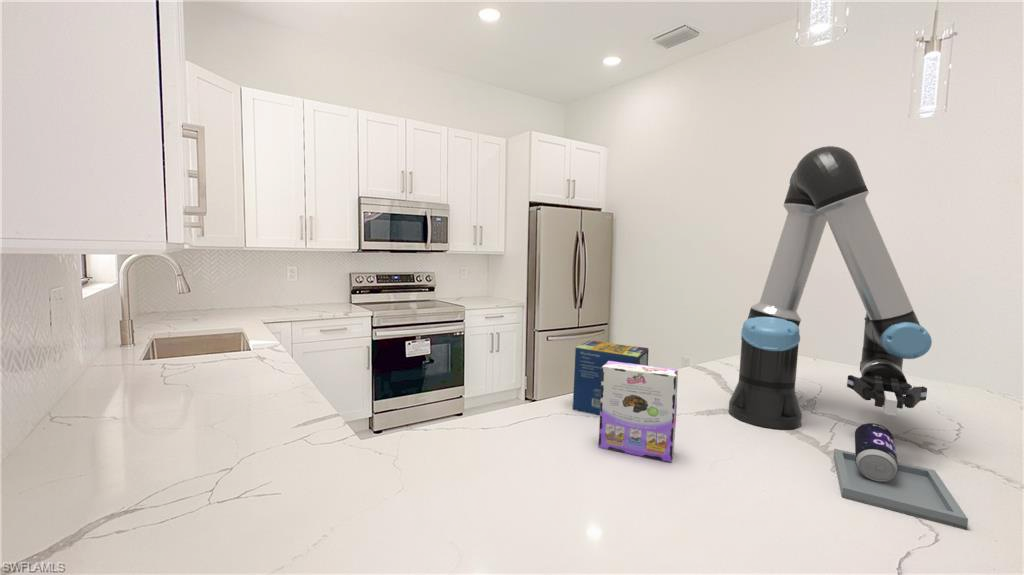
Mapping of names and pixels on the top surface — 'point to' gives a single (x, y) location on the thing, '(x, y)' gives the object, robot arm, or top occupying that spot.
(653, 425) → the candy box
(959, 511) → the tray
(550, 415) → the top surface
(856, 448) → the beverage can
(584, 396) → the protein box
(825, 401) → the top surface
